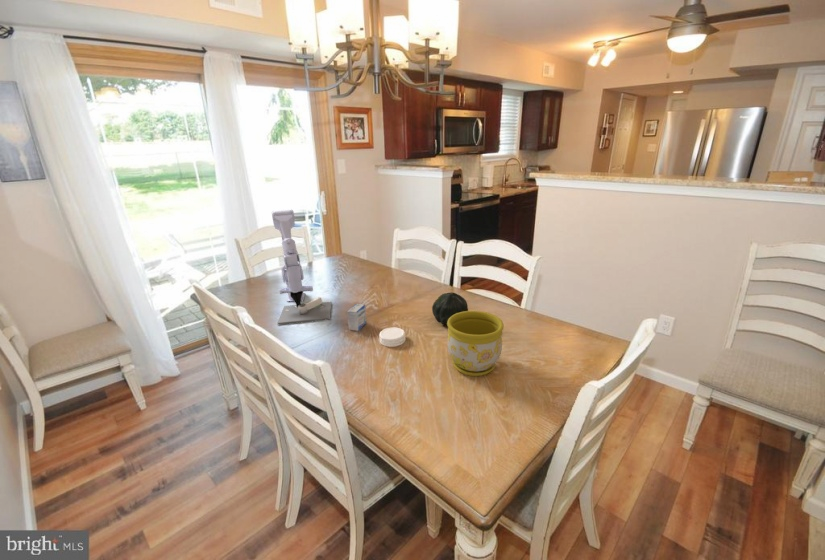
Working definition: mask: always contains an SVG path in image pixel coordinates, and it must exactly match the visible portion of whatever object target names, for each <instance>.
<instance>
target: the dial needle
mask: <svg viewBox="0 0 825 560" xmlns="http://www.w3.org/2000/svg"><path fill="white" fill-rule="evenodd" d="M322 302H323V300H322V297H320V296H319V297H317V298H315V299H312V300H310V301H309V302H306V303H301V304H300V305H298V311H299V314H306V313H307V312H308V310H310V309H312V308H314V307H316V306H318V305H320V304H322Z"/></svg>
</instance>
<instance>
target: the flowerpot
mask: <svg viewBox="0 0 825 560" xmlns="http://www.w3.org/2000/svg"><path fill="white" fill-rule="evenodd" d="M446 326H447V332H448V335H447V351H448V353H449V357H450V358H451V360H452V365H453V367H455V369H456V370H457V371H458V372H460V373H461V374H463V375H466V376H469V377H481V376H486V375H488V374H489V373H491V372H492V371H493V370H494V369H495V367H496V363H497V362H498V360H499V359H500V356H501V354H502V350H503V339H502V338H503V337H502V335H503V330H504V328H505V327H504V322H503V320H502V319H501V318H500V317H499V316H496V315H494V314H493V313H490V312H486V311H481V310H479V311H478V310H468V311H464V312H459V313H456V314H454V315H452V316H451V317H450V318H449V319H448V321H447V324H446Z"/></svg>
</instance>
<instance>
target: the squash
mask: <svg viewBox="0 0 825 560" xmlns="http://www.w3.org/2000/svg"><path fill="white" fill-rule="evenodd" d="M431 311H432V315H433V316H434V318H435V320H436V322H438V323H441V324H443V325H445V324H446V325H447V321H448V319H449V318H450V317H451V316H452V315H454V314H456V313H459V312H464V311H469V308H468V301H466V299H465V298H464V297H463V296H462V295H460V294H457V293H455V292H447V293H442V294H441V295H439V296H438V298H436V299H435V300H434V302H433V304H432V306H431Z"/></svg>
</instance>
